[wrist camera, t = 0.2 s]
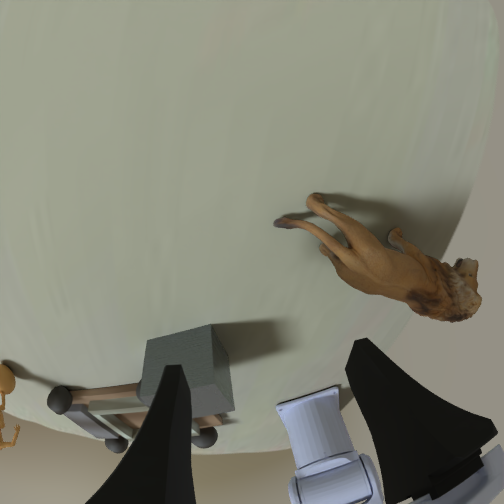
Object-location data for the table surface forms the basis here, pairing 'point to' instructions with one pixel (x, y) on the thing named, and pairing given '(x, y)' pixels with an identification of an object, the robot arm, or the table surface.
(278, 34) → the table surface
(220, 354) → the brushed grey box
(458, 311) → the lion figurine
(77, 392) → the toy car chassis
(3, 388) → the figurine
